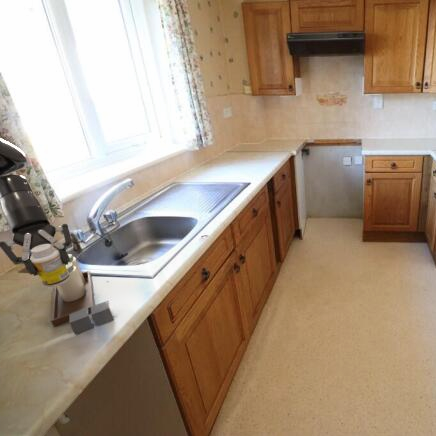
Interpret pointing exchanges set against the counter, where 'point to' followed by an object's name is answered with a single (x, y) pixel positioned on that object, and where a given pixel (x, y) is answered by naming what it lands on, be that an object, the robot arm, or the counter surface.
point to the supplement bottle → (49, 265)
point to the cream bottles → (72, 282)
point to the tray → (71, 303)
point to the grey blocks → (84, 319)
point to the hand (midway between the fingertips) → (51, 268)
